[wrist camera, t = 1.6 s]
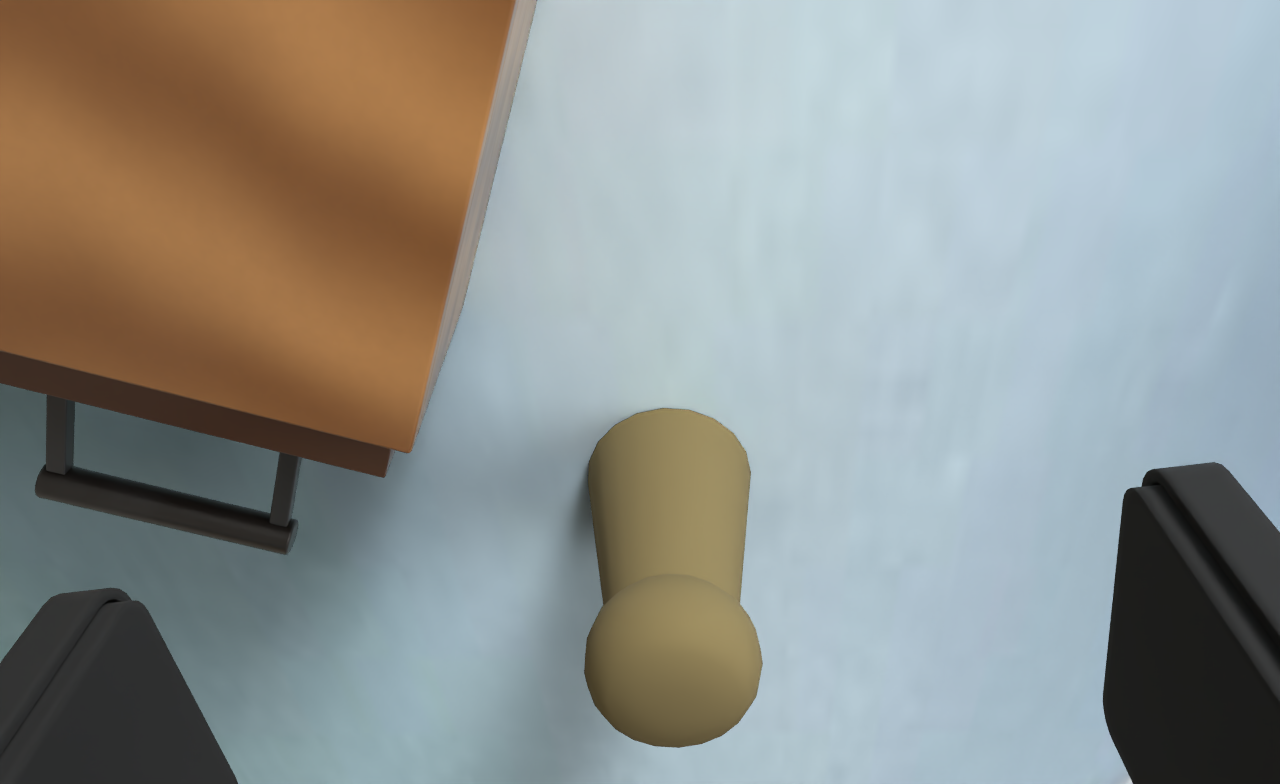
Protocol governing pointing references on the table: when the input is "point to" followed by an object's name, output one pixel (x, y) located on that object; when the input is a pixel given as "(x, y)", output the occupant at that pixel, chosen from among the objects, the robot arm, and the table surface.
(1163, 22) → the table surface
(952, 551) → the table surface
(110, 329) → the cabinet
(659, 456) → the wooden game pawn
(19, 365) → the drawer
